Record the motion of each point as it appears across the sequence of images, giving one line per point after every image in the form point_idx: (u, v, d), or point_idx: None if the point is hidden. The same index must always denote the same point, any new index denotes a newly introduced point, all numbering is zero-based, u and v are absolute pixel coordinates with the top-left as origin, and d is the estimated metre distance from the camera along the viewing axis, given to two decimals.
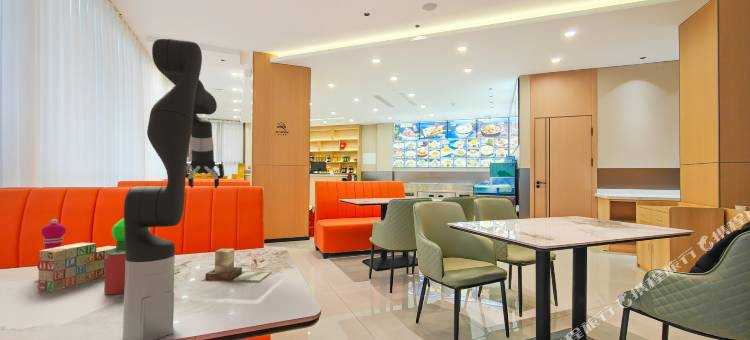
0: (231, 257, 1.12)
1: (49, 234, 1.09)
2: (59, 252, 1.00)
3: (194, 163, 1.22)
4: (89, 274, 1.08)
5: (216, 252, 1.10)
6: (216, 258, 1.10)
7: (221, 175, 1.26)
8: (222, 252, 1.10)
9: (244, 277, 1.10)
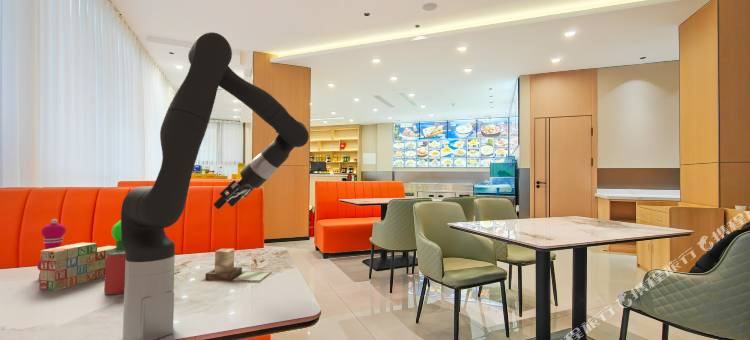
0: (231, 257, 1.12)
1: (49, 234, 1.09)
2: (61, 252, 1.00)
3: None
4: (90, 274, 1.09)
5: (216, 252, 1.10)
6: (216, 258, 1.10)
7: None
8: (222, 252, 1.10)
9: (244, 277, 1.10)
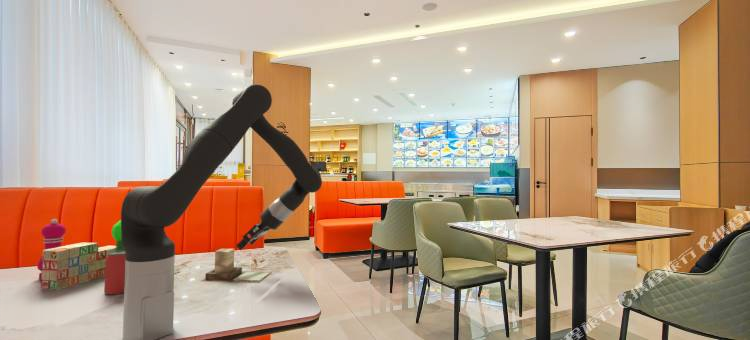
0: (231, 257, 1.12)
1: (49, 234, 1.09)
2: (62, 252, 1.00)
3: None
4: (91, 273, 1.09)
5: (216, 252, 1.10)
6: (216, 258, 1.10)
7: (244, 235, 1.05)
8: (222, 252, 1.10)
9: (244, 277, 1.10)
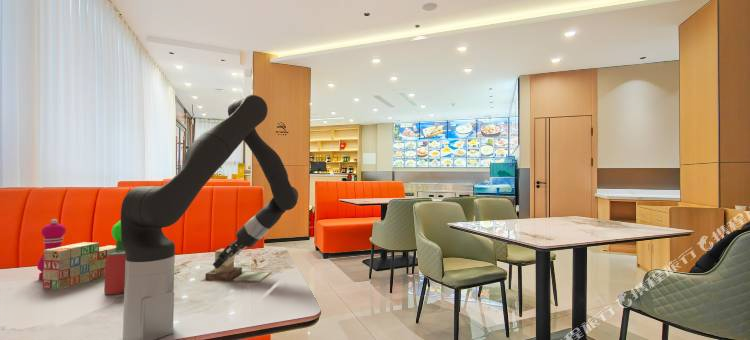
0: (231, 257, 1.12)
1: (49, 234, 1.09)
2: (64, 251, 1.01)
3: None
4: (93, 273, 1.09)
5: (216, 252, 1.10)
6: (216, 258, 1.10)
7: (220, 254, 1.07)
8: None
9: (244, 277, 1.10)
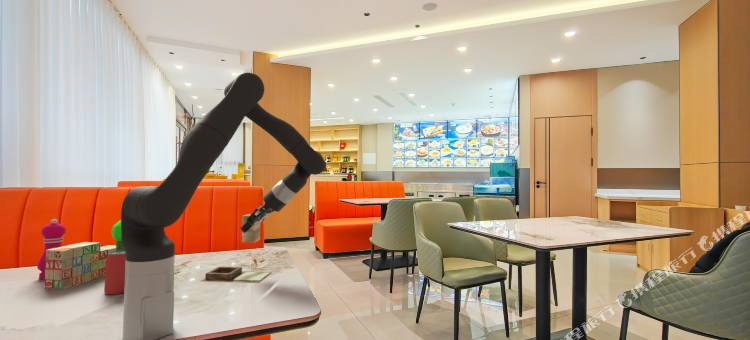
0: (258, 222, 1.13)
1: (49, 234, 1.09)
2: (67, 251, 1.01)
3: None
4: (94, 272, 1.10)
5: (243, 216, 1.10)
6: (243, 222, 1.10)
7: None
8: None
9: (244, 277, 1.10)
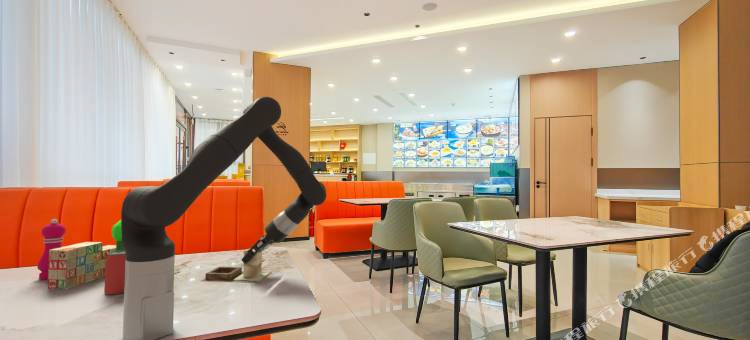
0: (259, 257, 1.12)
1: (49, 234, 1.09)
2: (71, 251, 1.01)
3: None
4: (96, 272, 1.10)
5: (245, 252, 1.10)
6: None
7: (249, 249, 1.06)
8: None
9: None
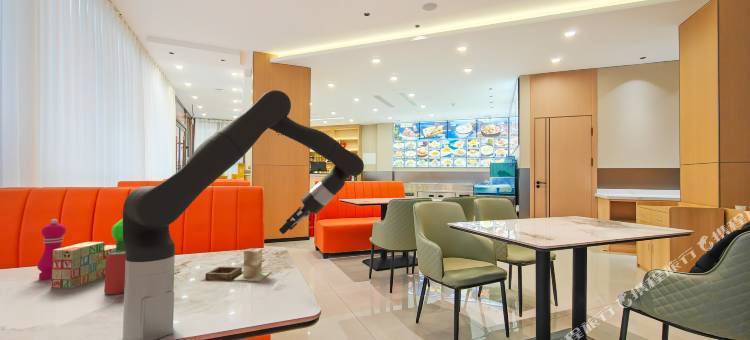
0: (259, 257, 1.12)
1: (49, 234, 1.09)
2: (76, 250, 1.02)
3: None
4: (99, 272, 1.11)
5: (245, 252, 1.10)
6: (245, 258, 1.10)
7: None
8: (251, 252, 1.10)
9: None
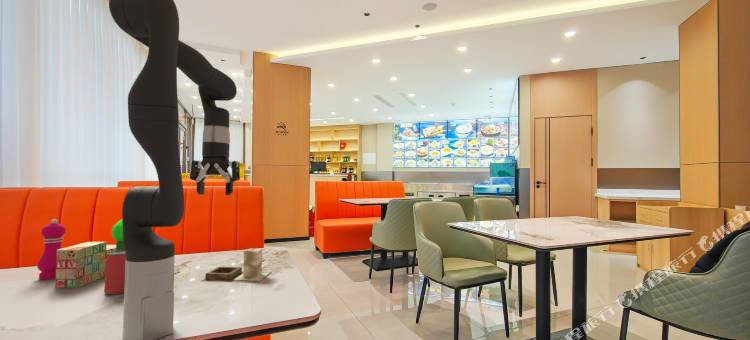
0: (259, 257, 1.12)
1: (49, 234, 1.09)
2: (80, 250, 1.02)
3: (204, 161, 0.98)
4: (101, 271, 1.11)
5: (245, 252, 1.10)
6: (245, 258, 1.10)
7: (234, 177, 0.97)
8: (251, 252, 1.10)
9: None
